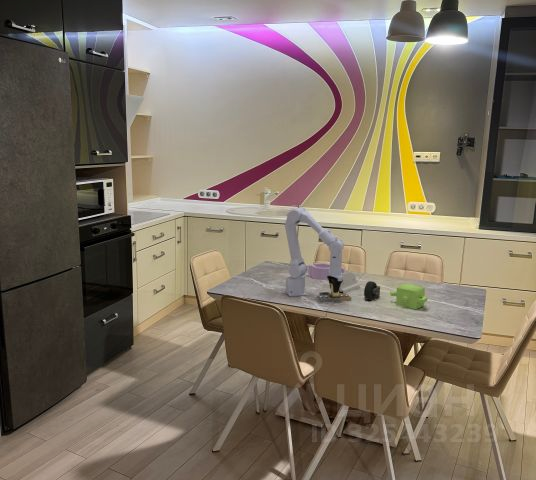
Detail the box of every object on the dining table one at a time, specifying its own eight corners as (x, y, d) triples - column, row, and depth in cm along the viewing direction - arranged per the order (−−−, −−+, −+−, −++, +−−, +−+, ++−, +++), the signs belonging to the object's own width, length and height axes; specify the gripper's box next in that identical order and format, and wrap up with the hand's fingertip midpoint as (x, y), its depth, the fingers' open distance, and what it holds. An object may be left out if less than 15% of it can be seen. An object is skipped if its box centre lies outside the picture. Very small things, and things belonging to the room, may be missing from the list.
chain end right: (331, 301, 242) (331, 297, 241) (326, 297, 248) (327, 293, 247) (351, 300, 244) (351, 296, 244) (346, 296, 250) (346, 292, 250)
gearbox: (385, 304, 241) (386, 286, 239) (395, 299, 248) (395, 281, 246) (420, 312, 229) (421, 293, 227) (429, 306, 237) (430, 287, 235)
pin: (332, 298, 243) (332, 285, 241) (329, 295, 246) (330, 282, 245) (339, 297, 244) (340, 284, 242) (336, 295, 247) (337, 282, 246)
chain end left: (320, 302, 240) (320, 298, 240) (316, 298, 246) (316, 294, 246) (340, 301, 243) (340, 297, 242) (336, 297, 248) (336, 293, 248)
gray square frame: (322, 297, 248) (322, 295, 248) (319, 294, 253) (319, 292, 252) (331, 297, 249) (331, 294, 249) (328, 294, 254) (328, 292, 253)
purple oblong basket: (346, 278, 285) (347, 267, 284) (337, 283, 275) (338, 271, 273) (315, 273, 296) (316, 261, 294) (305, 277, 285) (306, 265, 284)
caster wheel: (371, 304, 243) (384, 294, 254) (372, 285, 240) (384, 276, 252) (361, 301, 246) (373, 292, 257) (361, 283, 243) (374, 274, 255)
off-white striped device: (344, 294, 255) (339, 275, 255) (336, 295, 258) (331, 276, 258) (360, 287, 267) (356, 269, 267) (353, 288, 270) (348, 270, 271)
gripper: (348, 267, 236) (347, 295, 238) (337, 260, 250) (336, 286, 252) (335, 268, 234) (333, 296, 237) (324, 261, 248) (323, 287, 250)
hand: (334, 291), depth 244 cm, fingers closed on pin, 4 cm apart
